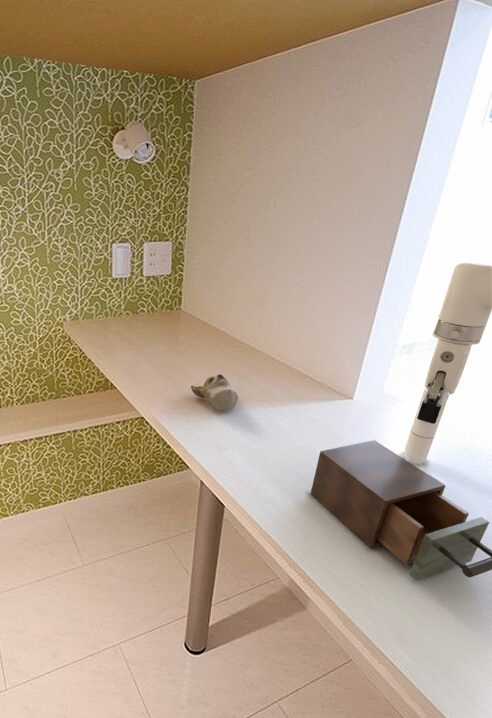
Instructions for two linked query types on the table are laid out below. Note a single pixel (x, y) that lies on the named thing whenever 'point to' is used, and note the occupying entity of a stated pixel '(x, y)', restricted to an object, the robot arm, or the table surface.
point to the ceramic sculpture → (217, 393)
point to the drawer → (434, 536)
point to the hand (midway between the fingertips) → (428, 415)
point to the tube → (423, 433)
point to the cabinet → (367, 485)
